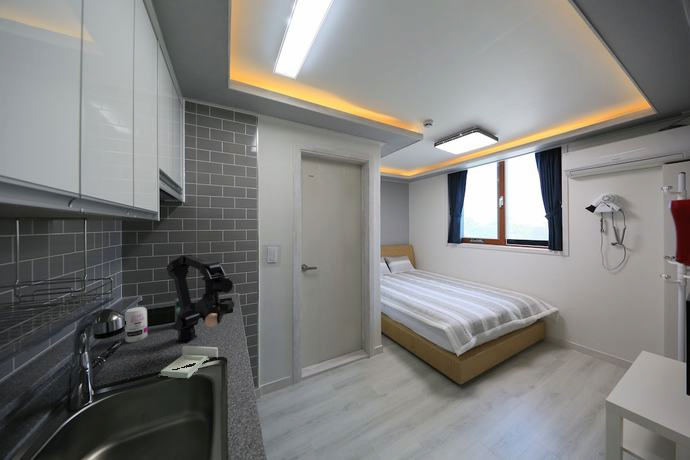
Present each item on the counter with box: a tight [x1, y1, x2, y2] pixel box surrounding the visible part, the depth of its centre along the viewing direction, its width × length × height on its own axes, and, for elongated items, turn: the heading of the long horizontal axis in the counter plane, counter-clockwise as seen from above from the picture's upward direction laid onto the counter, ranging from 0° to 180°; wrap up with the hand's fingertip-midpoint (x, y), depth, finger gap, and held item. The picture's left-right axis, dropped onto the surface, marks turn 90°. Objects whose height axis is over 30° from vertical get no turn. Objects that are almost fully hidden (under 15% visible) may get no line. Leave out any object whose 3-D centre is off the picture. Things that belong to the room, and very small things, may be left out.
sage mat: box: [158, 354, 211, 379], centre depth 93 cm, size 12×12×2 cm
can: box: [174, 297, 180, 324], centre depth 131 cm, size 6×6×15 cm
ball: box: [204, 312, 219, 328], centre depth 107 cm, size 6×6×6 cm
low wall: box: [181, 345, 219, 358], centre depth 101 cm, size 16×1×4 cm, turn 85°
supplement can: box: [124, 306, 148, 343], centre depth 115 cm, size 8×8×15 cm
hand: (212, 323), depth 107 cm, fingers closed on ball, 6 cm apart
